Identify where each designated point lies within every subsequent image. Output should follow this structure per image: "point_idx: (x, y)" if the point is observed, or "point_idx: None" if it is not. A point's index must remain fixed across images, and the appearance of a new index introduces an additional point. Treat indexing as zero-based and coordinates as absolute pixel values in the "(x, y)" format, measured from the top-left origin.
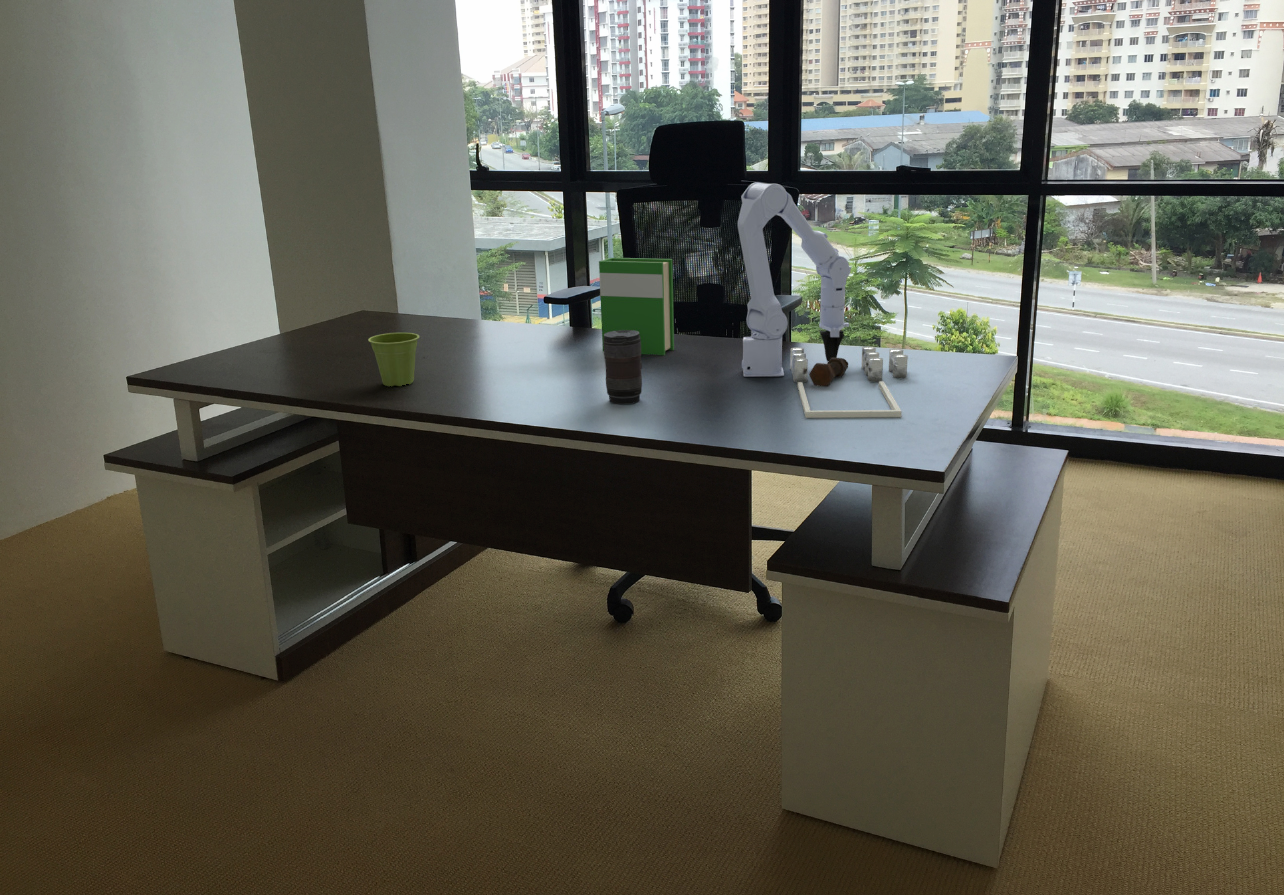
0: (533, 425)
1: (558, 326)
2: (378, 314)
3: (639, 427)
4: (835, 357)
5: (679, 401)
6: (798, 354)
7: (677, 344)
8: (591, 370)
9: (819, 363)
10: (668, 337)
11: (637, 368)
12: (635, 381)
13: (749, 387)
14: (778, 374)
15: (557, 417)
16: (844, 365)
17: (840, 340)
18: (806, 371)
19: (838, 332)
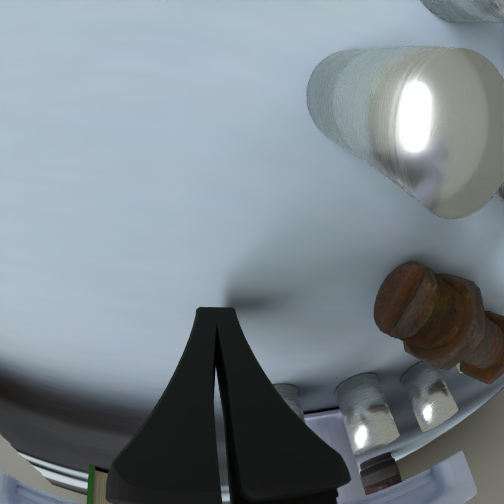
0: (404, 456)
1: (33, 466)
2: (56, 485)
3: (455, 422)
4: (240, 327)
5: (409, 437)
6: (379, 444)
7: (55, 455)
8: (228, 491)
9: (494, 378)
10: (100, 487)
11: (400, 481)
12: (398, 470)
13: (400, 417)
14: None
15: (394, 458)
16: (480, 302)
17: (313, 436)
18: (445, 383)
19: (468, 477)
